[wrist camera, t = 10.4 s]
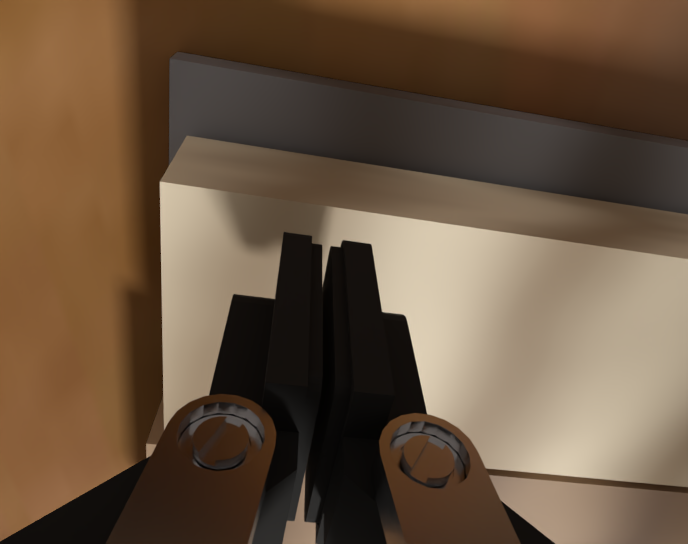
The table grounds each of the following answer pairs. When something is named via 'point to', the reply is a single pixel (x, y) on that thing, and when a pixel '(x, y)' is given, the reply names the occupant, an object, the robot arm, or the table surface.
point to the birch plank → (456, 299)
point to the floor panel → (465, 163)
